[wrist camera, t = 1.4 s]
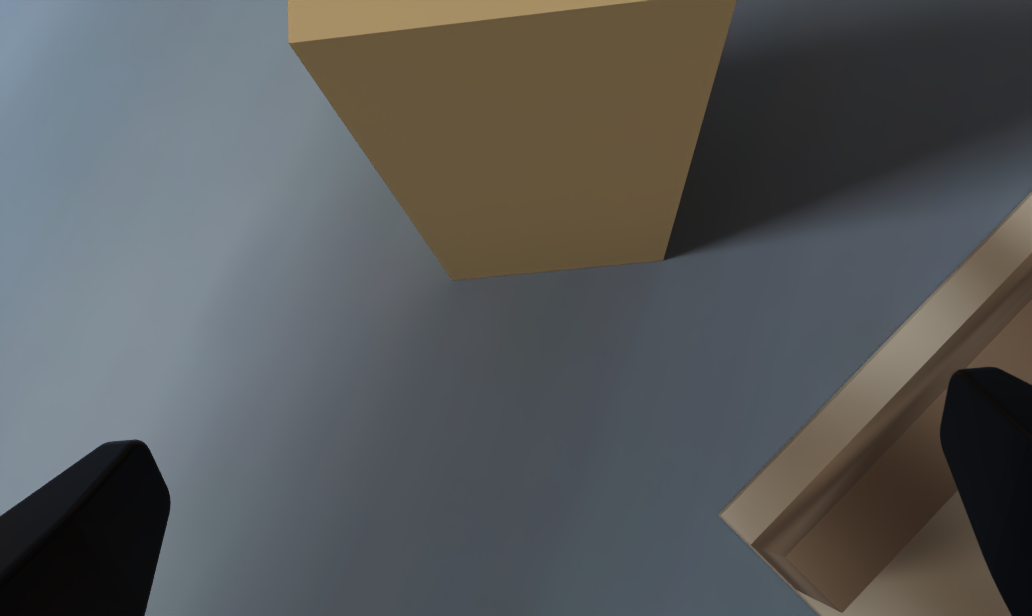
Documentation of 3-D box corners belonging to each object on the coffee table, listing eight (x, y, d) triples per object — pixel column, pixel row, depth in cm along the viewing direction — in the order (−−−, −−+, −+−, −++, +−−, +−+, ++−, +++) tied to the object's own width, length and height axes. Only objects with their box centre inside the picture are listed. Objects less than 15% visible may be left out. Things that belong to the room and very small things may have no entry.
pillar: (663, 260, 23) (739, -11, 11) (452, 280, 24) (289, 43, 11) (644, 97, 24) (693, -323, 12) (443, 119, 25) (284, -261, 12)
